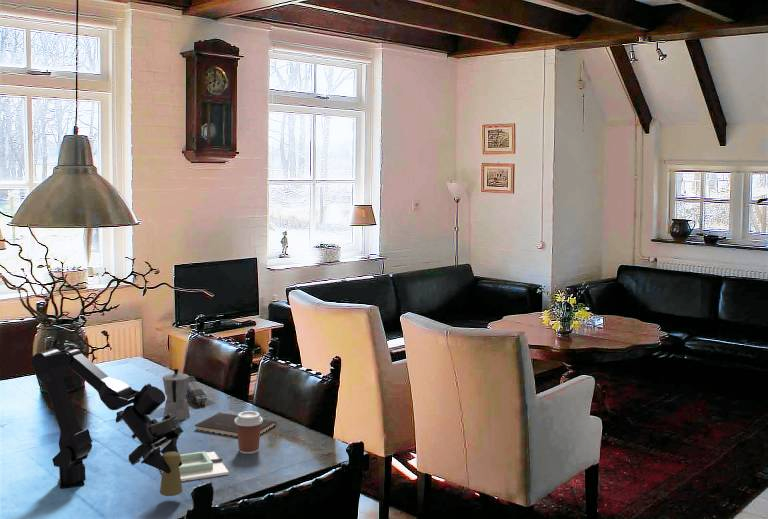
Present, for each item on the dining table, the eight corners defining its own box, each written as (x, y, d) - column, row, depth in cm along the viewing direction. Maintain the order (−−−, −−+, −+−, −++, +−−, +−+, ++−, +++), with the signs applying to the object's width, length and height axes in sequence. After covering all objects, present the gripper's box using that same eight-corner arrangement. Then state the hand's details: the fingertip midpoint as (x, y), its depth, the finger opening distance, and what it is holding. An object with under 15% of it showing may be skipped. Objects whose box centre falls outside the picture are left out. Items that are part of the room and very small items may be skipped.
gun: (191, 389, 326) (193, 369, 322) (205, 419, 311) (207, 397, 307) (180, 391, 324) (182, 370, 320) (194, 421, 309) (196, 399, 304)
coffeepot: (165, 411, 299) (164, 364, 296) (191, 411, 300) (190, 363, 298) (160, 425, 284) (159, 375, 281) (188, 424, 285) (187, 374, 283)
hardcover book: (252, 441, 271) (252, 434, 271) (194, 431, 280) (194, 425, 280) (276, 427, 286) (276, 420, 286) (220, 418, 295) (220, 411, 294)
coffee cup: (231, 447, 264) (231, 411, 262) (259, 443, 268) (259, 408, 266) (238, 457, 256) (237, 420, 254) (266, 453, 259) (266, 417, 258)
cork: (175, 485, 227) (175, 447, 225) (186, 491, 222) (186, 453, 221) (155, 490, 223) (155, 452, 221) (166, 497, 218) (166, 458, 217)
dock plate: (167, 483, 234) (167, 474, 234) (156, 462, 250) (156, 453, 250) (230, 474, 242) (230, 465, 241) (215, 453, 258) (215, 445, 258)
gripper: (137, 417, 212) (174, 464, 210) (177, 397, 229) (211, 440, 227) (112, 442, 215) (148, 488, 213) (153, 420, 233) (187, 463, 231)
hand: (175, 469), depth 221 cm, fingers closed on cork, 5 cm apart
